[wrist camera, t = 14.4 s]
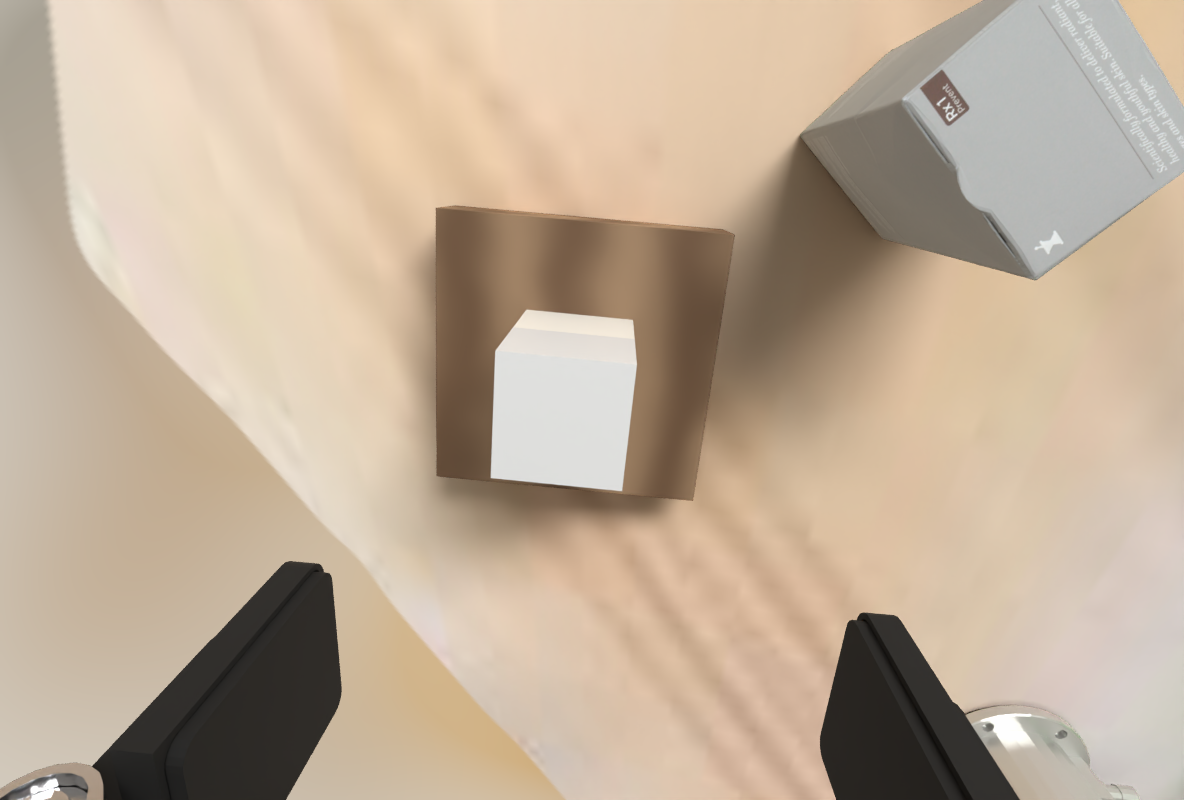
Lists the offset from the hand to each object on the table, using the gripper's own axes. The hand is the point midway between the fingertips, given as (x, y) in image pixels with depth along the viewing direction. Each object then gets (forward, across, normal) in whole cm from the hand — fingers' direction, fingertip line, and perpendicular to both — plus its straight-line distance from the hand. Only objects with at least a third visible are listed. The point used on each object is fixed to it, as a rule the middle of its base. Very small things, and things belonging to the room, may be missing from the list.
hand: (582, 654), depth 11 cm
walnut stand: (+29, +2, +2) cm, 29 cm away
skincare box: (+29, -14, -11) cm, 34 cm away
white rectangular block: (+25, +2, +2) cm, 25 cm away
